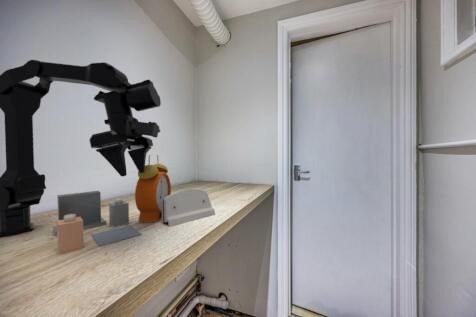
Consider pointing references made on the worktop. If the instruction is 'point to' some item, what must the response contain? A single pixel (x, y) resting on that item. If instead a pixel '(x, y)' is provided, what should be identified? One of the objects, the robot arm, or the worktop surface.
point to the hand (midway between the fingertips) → (134, 174)
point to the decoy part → (119, 212)
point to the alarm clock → (152, 191)
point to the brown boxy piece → (70, 233)
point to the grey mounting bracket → (186, 207)
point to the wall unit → (81, 208)
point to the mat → (115, 235)
